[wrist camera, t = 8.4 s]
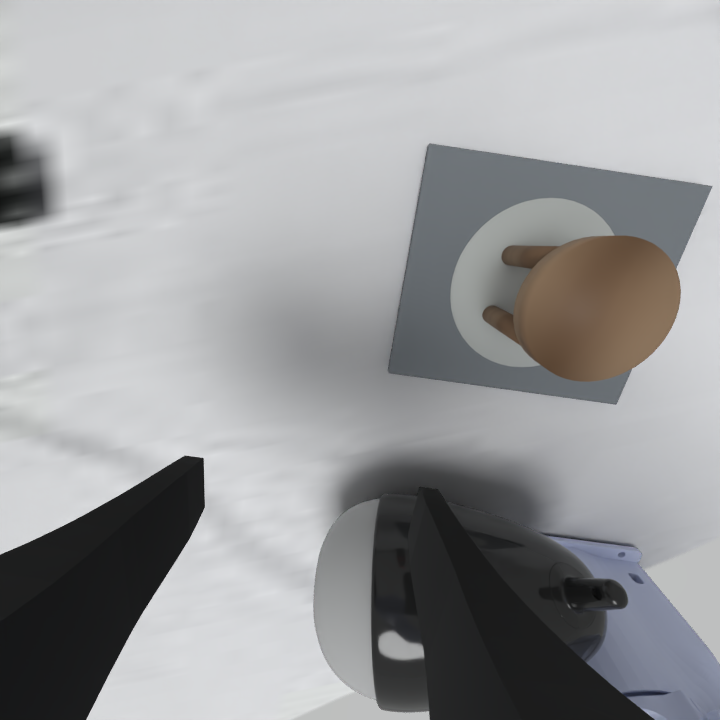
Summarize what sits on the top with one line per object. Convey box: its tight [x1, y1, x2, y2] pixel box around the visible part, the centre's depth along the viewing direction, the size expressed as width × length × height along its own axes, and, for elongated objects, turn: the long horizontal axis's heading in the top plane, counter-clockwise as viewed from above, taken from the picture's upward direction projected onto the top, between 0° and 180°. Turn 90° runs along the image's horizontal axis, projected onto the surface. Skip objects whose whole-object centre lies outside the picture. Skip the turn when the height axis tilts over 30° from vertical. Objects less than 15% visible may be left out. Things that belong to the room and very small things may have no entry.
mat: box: [388, 144, 712, 404], centre depth 18 cm, size 14×12×1 cm
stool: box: [482, 236, 681, 382], centre depth 15 cm, size 6×6×6 cm
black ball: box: [313, 493, 628, 712], centre depth 19 cm, size 10×10×15 cm
